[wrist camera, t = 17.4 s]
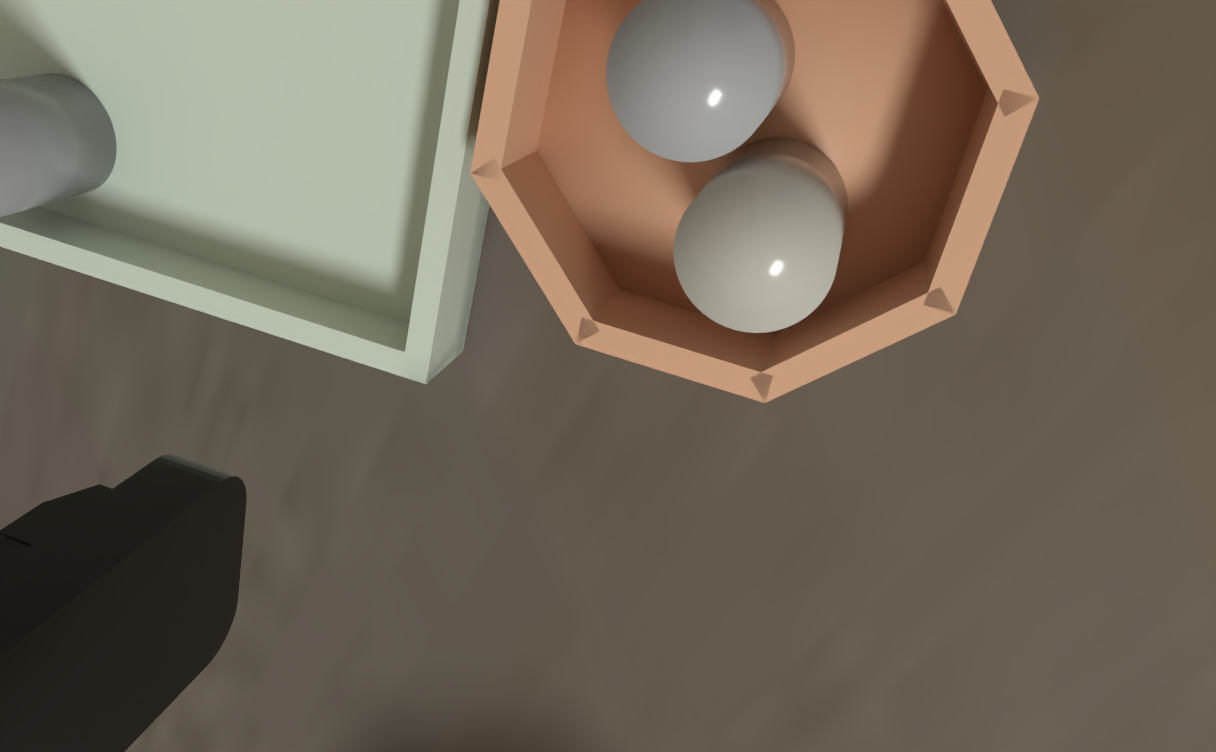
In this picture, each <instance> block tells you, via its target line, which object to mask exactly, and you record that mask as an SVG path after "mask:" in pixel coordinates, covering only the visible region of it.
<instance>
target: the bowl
mask: <svg viewBox="0 0 1216 752" xmlns="http://www.w3.org/2000/svg"><path fill="white" fill-rule="evenodd" d="M641 1H643V0H500V2H499V7H498V13H497V19H496V25H495V31H494V37H493V43H492V49H491V54H490V60H489V66H488V72H487V78H486V84H485V90H484V95H483V101H482V107H481V113H480V119H479V125H478V131H477V136H476V142H475V148H474V154H473V160H472V166H471V172H470V174H471V175H472V177H473V178H474V180H475V182H476V183H477V185H478V187H479V188H480V190H481V191H482V193H483V195H484V196H485V198H486V200H487V201H488V203H489V204H490V206H491V208H492V209H493V211H494V213H495V214H496V216H497V217H498V219H499V221H500V222H501V224H502V226H503V227H504V229H505V230H506V232H507V234H508V235H509V237H510V238H511V240H512V242H513V243H514V245H515V247H516V248H517V250H518V251H519V253H520V255H521V256H522V258H523V260H524V261H525V263H526V264H527V266H528V268H529V269H530V271H531V273H532V274H533V276H534V277H535V279H536V281H537V282H538V284H539V286H540V287H541V289H542V290H543V292H544V294H545V295H546V297H547V299H548V300H549V302H550V303H551V305H552V307H553V308H554V310H555V312H556V313H557V315H558V316H559V318H560V320H561V321H562V323H563V325H564V326H565V328H566V329H567V331H568V333H569V334H570V336H571V337H572V339H573V341H574V342H575V344H577V345H580V346H583V347H586V348H590V349H593V350H596V351H599V352H602V353H606V354H609V355H612V356H615V357H619V358H622V359H625V360H628V361H631V362H635V363H638V364H641V365H644V366H647V367H651V368H654V369H657V370H660V371H664V372H667V373H670V374H673V375H676V376H680V377H683V378H686V379H689V380H692V381H696V382H699V383H702V384H705V385H709V386H712V387H715V388H718V389H721V390H725V391H728V392H731V393H734V394H737V395H741V396H744V397H747V398H750V399H754V400H757V401H760V402H763V403H766V402H768V401H770V400H772V399H774V398H776V397H779V396H781V395H783V394H785V393H787V392H789V391H792V390H794V389H796V388H798V387H800V386H802V385H805V384H807V383H809V382H811V381H813V380H815V379H817V378H820V377H822V376H824V375H826V374H828V373H830V372H833V371H835V370H837V369H839V368H841V367H843V366H845V365H848V364H850V363H852V362H854V361H856V360H858V359H861V358H863V357H865V356H867V355H869V354H871V353H874V352H876V351H878V350H880V349H882V348H884V347H886V346H889V345H891V344H893V343H895V342H897V341H899V340H902V339H904V338H906V337H908V336H910V335H912V334H915V333H917V332H919V331H921V330H923V329H925V328H927V327H930V326H932V325H934V324H936V323H938V322H940V321H943V320H945V319H947V318H949V317H951V316H953V315H955V314H956V312H957V310H958V307H959V305H960V302H961V299H962V297H963V294H964V292H965V289H966V286H967V284H968V281H969V279H970V276H971V274H972V271H973V268H974V266H975V263H976V261H977V258H978V255H979V253H980V250H981V248H982V245H983V242H984V240H985V237H986V235H987V232H988V230H989V227H990V224H991V222H992V219H993V217H994V214H995V211H996V209H997V206H998V204H999V201H1000V198H1001V196H1002V193H1003V191H1004V188H1005V186H1006V183H1007V180H1008V178H1009V175H1010V173H1011V170H1012V167H1013V165H1014V162H1015V160H1016V157H1017V154H1018V152H1019V149H1020V147H1021V144H1022V142H1023V139H1024V136H1025V134H1026V131H1027V129H1028V126H1029V123H1030V121H1031V118H1032V116H1033V113H1034V111H1035V108H1036V105H1037V103H1038V100H1039V97H1038V95H1037V93H1036V91H1035V89H1034V87H1033V85H1032V83H1031V81H1030V79H1029V77H1028V75H1027V73H1026V71H1025V68H1024V66H1023V64H1022V62H1021V60H1020V58H1019V56H1018V54H1017V52H1016V50H1015V48H1014V46H1013V44H1012V42H1011V40H1010V38H1009V36H1008V34H1007V32H1006V30H1005V28H1004V26H1003V24H1002V22H1001V20H1000V18H999V16H998V14H997V12H996V10H995V8H994V6H993V4H992V2H991V0H774V2H775V3H776V4H777V5H778V6H779V7H780V9H781V10H782V12H783V13H784V15H785V16H786V18H787V20H788V22H789V24H790V27H791V30H792V33H793V38H794V43H795V64H794V69H793V74H792V77H791V80H790V83H789V85H788V87H787V89H786V92H785V93H784V95H783V96H782V98H781V99H780V101H779V102H778V103H777V104H776V106H775V107H774V108H773V109H772V111H771V112H770V113H769V114H768V116H767V117H766V118H765V119H764V121H763V122H762V123H761V124H760V126H759V127H758V128H757V129H756V130H755V132H754V133H753V134H752V135H751V136H750V137H749V138H748V139H747V140H746V141H745V142H744V143H743V144H741V145H740V146H739V147H737V148H736V149H734V150H733V151H731V152H729V153H727V154H725V155H723V156H720V157H718V158H715V159H711V160H707V161H702V162H680V161H674V160H670V159H666V158H663V157H660V156H658V155H656V154H654V153H652V152H650V151H648V150H647V149H645V148H644V147H642V146H641V145H640V144H639V143H637V142H636V141H635V140H634V139H633V138H632V137H631V136H630V135H629V134H628V133H627V132H626V130H625V129H624V128H623V126H622V125H621V123H620V122H619V120H618V118H617V116H616V114H615V113H614V110H613V107H612V105H611V102H610V98H609V95H608V90H607V82H606V66H607V57H608V53H609V49H610V45H611V43H612V40H613V38H614V35H615V33H616V31H617V29H618V28H619V26H620V24H621V23H622V21H623V20H624V19H625V17H626V16H627V15H628V14H629V13H630V11H631V10H632V9H633V8H634V7H635V6H637V5H638V4H639V3H640V2H641ZM775 137H780V138H790V139H796V140H799V141H802V142H805V143H807V144H809V145H811V146H813V147H815V148H816V149H818V150H819V151H821V152H822V153H823V154H824V155H826V156H827V157H828V158H829V159H830V161H831V162H832V163H833V164H834V165H835V167H836V168H837V170H838V171H839V173H840V175H841V177H842V179H843V182H844V185H845V188H846V192H847V197H848V214H847V220H846V225H845V230H844V235H843V240H842V245H841V250H840V255H839V260H838V265H837V270H836V274H835V278H834V280H833V283H832V286H831V288H830V290H829V291H828V293H827V295H826V297H825V298H824V299H823V301H822V302H821V304H820V305H819V306H818V307H817V308H816V309H815V310H814V311H813V312H812V313H810V314H809V315H808V316H807V317H806V318H804V319H802V320H801V321H799V322H798V323H796V324H794V325H791V326H789V327H787V328H784V329H781V330H777V331H772V332H766V333H750V332H742V331H737V330H733V329H730V328H727V327H725V326H723V325H720V324H718V323H716V322H715V321H713V320H711V319H710V318H708V317H707V316H706V315H704V314H703V313H702V312H701V311H700V310H698V308H697V307H696V306H695V305H694V304H693V303H692V302H691V301H690V299H689V298H688V296H687V295H686V294H685V292H684V290H683V288H682V286H681V284H680V282H679V279H678V276H677V273H676V269H675V264H674V240H675V234H676V231H677V227H678V224H679V222H680V220H681V218H682V215H683V214H684V212H685V211H686V209H687V207H688V206H689V205H690V204H691V202H692V201H693V200H694V199H695V197H696V196H697V195H698V194H699V193H700V191H701V190H702V189H703V188H704V187H705V185H706V184H707V183H708V182H709V181H710V179H711V178H712V177H713V176H714V174H715V173H716V172H717V171H718V170H719V168H720V167H721V166H722V165H723V164H724V162H725V161H726V160H727V159H728V158H729V157H730V156H731V155H732V154H733V153H735V152H736V151H737V150H739V149H740V148H742V147H744V146H746V145H747V144H749V143H752V142H755V141H757V140H762V139H766V138H775Z"/></svg>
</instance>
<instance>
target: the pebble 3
mask: <svg viewBox="0 0 1216 752" xmlns="http://www.w3.org/2000/svg"><path fill="white" fill-rule="evenodd" d="M847 214H848V197H847V192H846V188H845V185H844V182H843V179H842V177H841V175H840V173H839V171H838V170H837V168H836V167H835V165H834V164H833V163H832V162H831V161H830V159H829V158H828V157H827V156H826V155H824V154H823V153H822V152H821V151H819V150H818V149H816V148H815V147H813V146H811V145H809V144H807V143H805V142H802V141H799V140H796V139H790V138H780V137H775V138H766V139H762V140H757V141H755V142H752V143H749V144H747V145H746V146H744V147H742V148H740V149H739V150H737V151H736V152H735V153H733V154H732V155H731V156H730V157H729V158H728V159H727V160H726V161H725V162H724V164H723V165H722V166H721V167H720V168H719V170H718V171H717V172H716V173H715V174H714V176H713V177H712V178H711V179H710V181H709V182H708V183H707V184H706V185H705V187H704V188H703V189H702V190H701V191H700V193H699V194H698V195H697V196H696V197H695V199H694V200H693V201H692V202H691V204H690V205H689V206H688V207H687V209H686V211H685V212H684V214H683V215H682V218H681V220H680V222H679V224H678V227H677V231H676V234H675V240H674V264H675V269H676V273H677V276H678V279H679V282H680V284H681V286H682V288H683V290H684V292H685V294H686V295H687V296H688V298H689V299H690V301H691V302H692V303H693V304H694V305H695V306H696V307H697V308H698V310H700V311H701V312H702V313H703V314H704V315H706V316H707V317H708V318H710V319H711V320H713V321H715V322H716V323H718V324H720V325H723V326H725V327H727V328H730V329H733V330H737V331H742V332H750V333H766V332H772V331H777V330H781V329H784V328H787V327H789V326H791V325H794V324H796V323H798V322H799V321H801V320H802V319H804V318H806V317H807V316H808V315H809V314H810V313H812V312H813V311H814V310H815V309H816V308H817V307H818V306H819V305H820V304H821V302H822V301H823V299H824V298H825V297H826V295H827V293H828V291H829V290H830V288H831V286H832V283H833V280H834V278H835V274H836V270H837V265H838V260H839V255H840V250H841V245H842V240H843V235H844V230H845V225H846V220H847Z"/></svg>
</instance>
